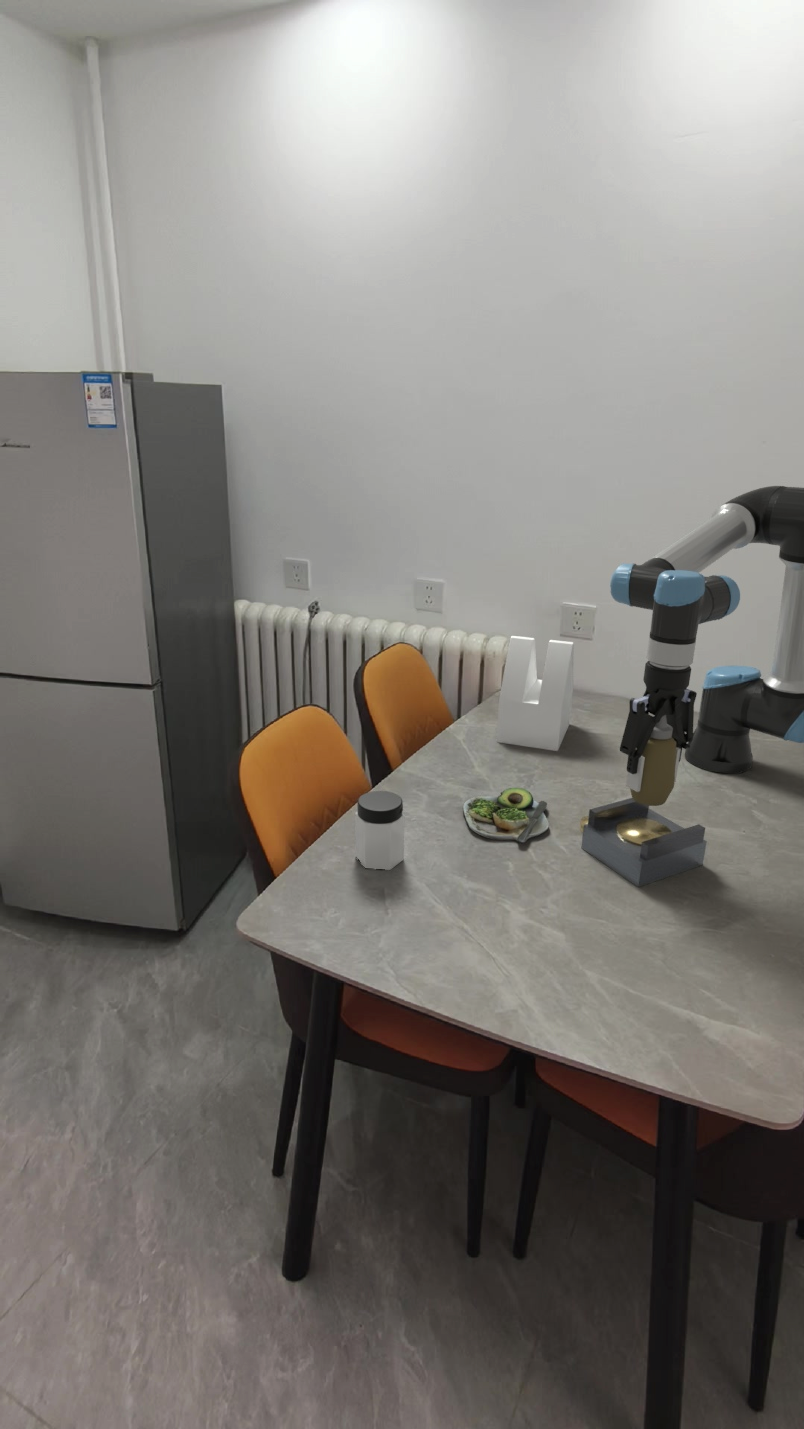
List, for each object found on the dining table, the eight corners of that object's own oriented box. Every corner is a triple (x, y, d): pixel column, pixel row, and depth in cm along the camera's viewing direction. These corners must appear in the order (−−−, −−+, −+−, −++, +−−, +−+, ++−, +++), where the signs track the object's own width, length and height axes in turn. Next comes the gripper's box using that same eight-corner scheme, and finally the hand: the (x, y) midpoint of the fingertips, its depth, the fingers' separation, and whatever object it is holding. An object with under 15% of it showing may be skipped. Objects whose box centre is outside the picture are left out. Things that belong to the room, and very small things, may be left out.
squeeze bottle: (674, 812, 140) (689, 717, 134) (626, 807, 141) (639, 712, 135) (669, 792, 147) (683, 701, 141) (624, 787, 149) (636, 697, 142)
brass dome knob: (596, 821, 162) (597, 813, 161) (616, 835, 157) (618, 826, 156) (573, 828, 159) (574, 819, 158) (593, 842, 154) (594, 833, 153)
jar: (410, 865, 144) (411, 806, 140) (369, 875, 141) (369, 815, 136) (389, 842, 152) (390, 786, 147) (350, 851, 148) (349, 794, 144)
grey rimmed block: (643, 829, 158) (648, 793, 156) (702, 865, 146) (709, 826, 143) (581, 847, 151) (585, 810, 148) (638, 887, 139) (643, 847, 136)
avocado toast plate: (563, 849, 151) (565, 828, 150) (470, 849, 150) (471, 828, 149) (542, 803, 169) (544, 783, 168) (459, 803, 169) (460, 783, 167)
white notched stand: (557, 751, 195) (567, 653, 186) (496, 742, 199) (502, 646, 190) (569, 724, 212) (578, 633, 203) (512, 716, 216) (519, 627, 207)
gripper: (694, 650, 143) (676, 765, 151) (607, 664, 133) (592, 786, 142) (728, 661, 137) (708, 780, 145) (639, 677, 127) (622, 804, 135)
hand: (651, 783), depth 143 cm, fingers closed on squeeze bottle, 8 cm apart
